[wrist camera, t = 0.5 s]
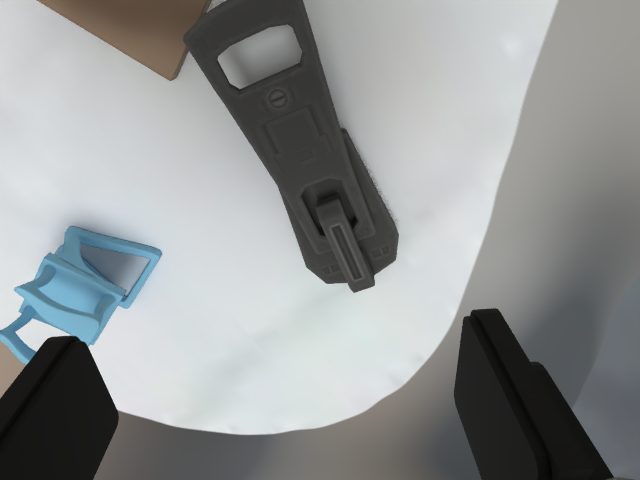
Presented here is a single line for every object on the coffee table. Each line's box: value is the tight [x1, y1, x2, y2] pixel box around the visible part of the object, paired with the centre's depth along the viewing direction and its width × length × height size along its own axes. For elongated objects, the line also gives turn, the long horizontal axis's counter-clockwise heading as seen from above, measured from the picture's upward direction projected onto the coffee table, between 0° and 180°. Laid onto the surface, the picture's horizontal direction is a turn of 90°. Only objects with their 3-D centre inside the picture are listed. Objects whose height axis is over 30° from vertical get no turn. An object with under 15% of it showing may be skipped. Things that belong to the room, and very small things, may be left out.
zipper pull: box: [183, 0, 399, 293], centre depth 33 cm, size 9×7×25 cm
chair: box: [0, 226, 161, 365], centre depth 36 cm, size 8×8×12 cm
